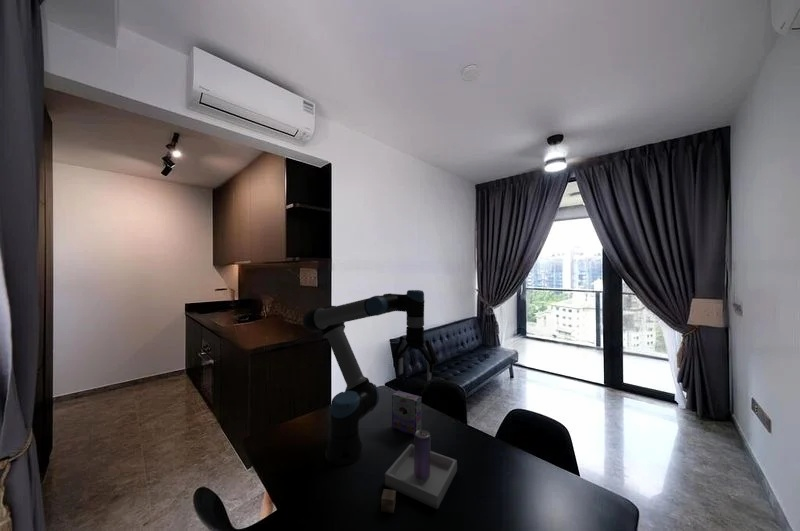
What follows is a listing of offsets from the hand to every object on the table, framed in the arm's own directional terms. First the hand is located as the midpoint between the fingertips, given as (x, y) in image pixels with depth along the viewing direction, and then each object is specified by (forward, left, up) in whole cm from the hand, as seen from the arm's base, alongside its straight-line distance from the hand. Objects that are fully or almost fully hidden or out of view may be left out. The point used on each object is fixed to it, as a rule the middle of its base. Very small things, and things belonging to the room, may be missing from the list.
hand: (414, 376), depth 115 cm
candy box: (-11, +14, -32) cm, 37 cm away
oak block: (+5, -28, -32) cm, 42 cm away
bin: (+9, -11, -32) cm, 35 cm away
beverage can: (+9, -11, -31) cm, 34 cm away
